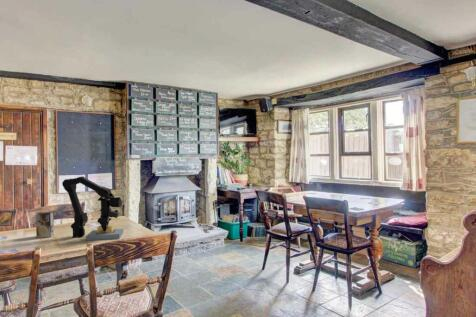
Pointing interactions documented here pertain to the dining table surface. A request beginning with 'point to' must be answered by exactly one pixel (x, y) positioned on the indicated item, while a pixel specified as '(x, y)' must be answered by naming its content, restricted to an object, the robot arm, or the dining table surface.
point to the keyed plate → (104, 235)
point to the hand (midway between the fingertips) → (105, 230)
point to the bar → (108, 229)
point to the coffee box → (44, 224)
